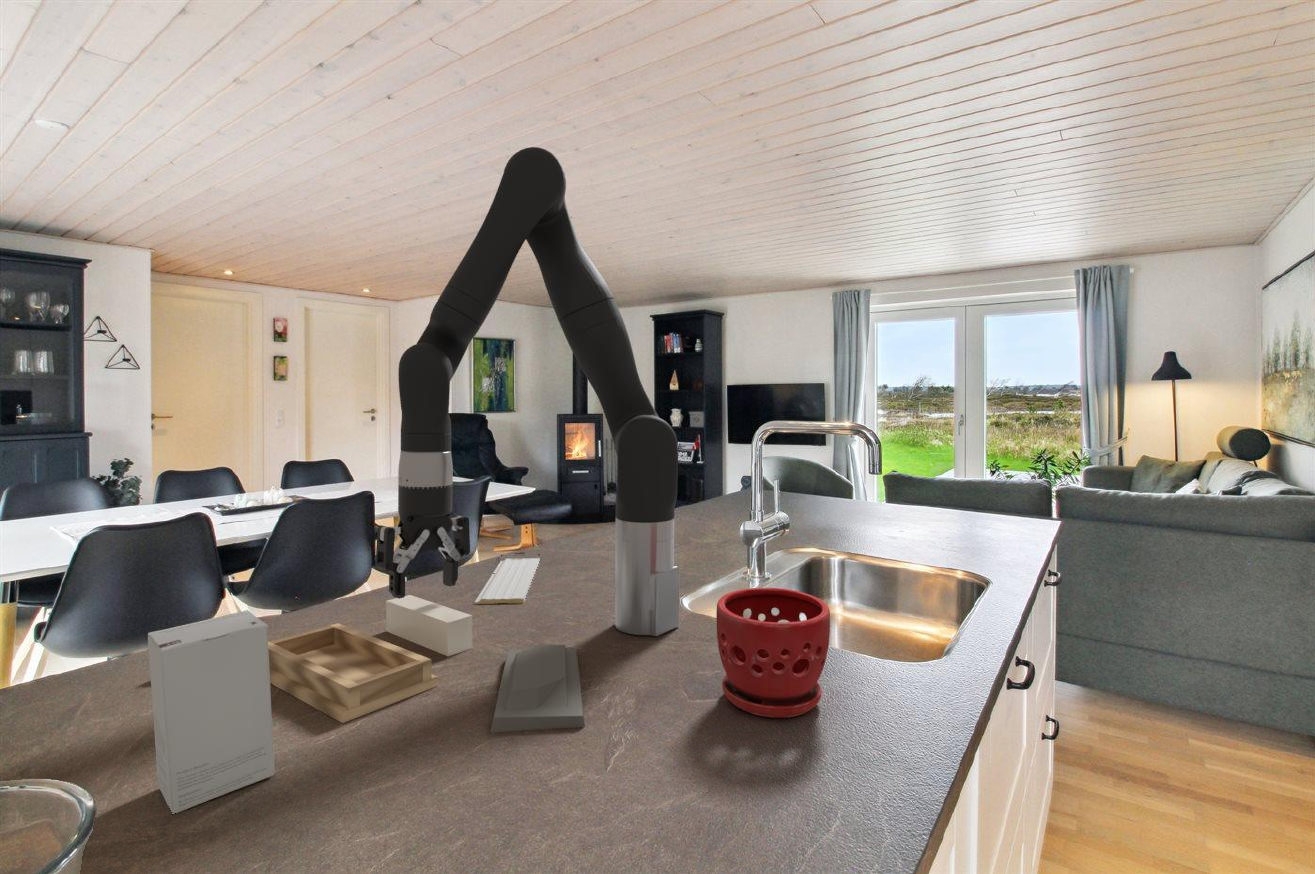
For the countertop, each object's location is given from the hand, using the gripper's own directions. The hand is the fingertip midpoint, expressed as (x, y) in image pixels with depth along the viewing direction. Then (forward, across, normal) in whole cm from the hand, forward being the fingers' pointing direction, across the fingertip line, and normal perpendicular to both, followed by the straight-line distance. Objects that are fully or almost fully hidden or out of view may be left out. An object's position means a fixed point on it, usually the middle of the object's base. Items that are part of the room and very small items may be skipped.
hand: (424, 590), depth 97 cm
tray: (+7, -15, -4) cm, 17 cm away
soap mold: (+8, -2, -26) cm, 28 cm away
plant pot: (+7, +12, -50) cm, 52 cm away
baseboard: (+8, +29, +16) cm, 34 cm away
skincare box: (+8, -34, -18) cm, 39 cm away
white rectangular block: (+8, 0, 0) cm, 8 cm away
